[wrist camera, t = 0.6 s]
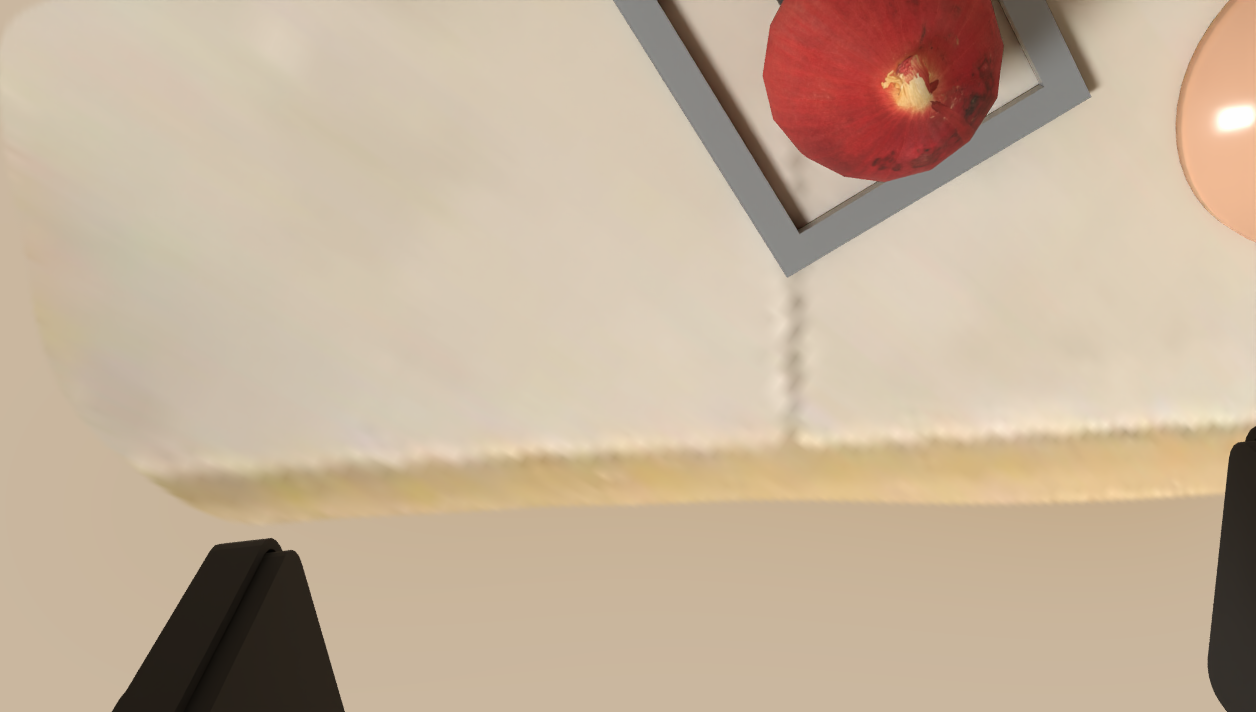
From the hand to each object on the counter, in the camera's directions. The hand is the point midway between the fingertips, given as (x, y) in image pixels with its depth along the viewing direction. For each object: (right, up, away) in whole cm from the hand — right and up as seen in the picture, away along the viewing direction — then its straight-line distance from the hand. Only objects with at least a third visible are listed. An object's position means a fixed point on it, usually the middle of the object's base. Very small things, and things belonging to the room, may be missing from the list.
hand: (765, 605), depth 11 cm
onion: (+5, +11, +20) cm, 24 cm away
